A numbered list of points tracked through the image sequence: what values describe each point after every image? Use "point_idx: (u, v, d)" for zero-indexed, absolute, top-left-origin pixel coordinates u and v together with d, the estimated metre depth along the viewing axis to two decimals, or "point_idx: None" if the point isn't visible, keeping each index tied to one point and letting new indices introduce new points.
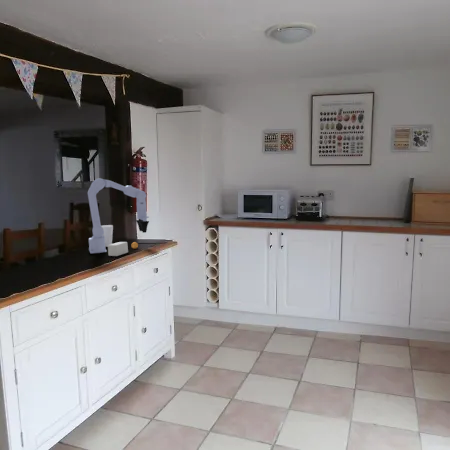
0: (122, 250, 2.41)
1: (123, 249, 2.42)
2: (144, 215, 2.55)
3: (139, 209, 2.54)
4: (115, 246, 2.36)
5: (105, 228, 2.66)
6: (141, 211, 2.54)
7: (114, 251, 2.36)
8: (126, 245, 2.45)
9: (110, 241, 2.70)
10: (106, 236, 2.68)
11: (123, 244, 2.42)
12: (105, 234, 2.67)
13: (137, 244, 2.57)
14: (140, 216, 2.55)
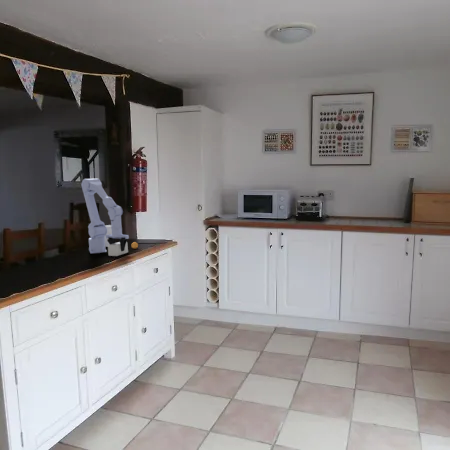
0: None
1: None
2: (121, 233, 2.41)
3: (111, 226, 2.39)
4: (115, 246, 2.36)
5: None
6: (119, 229, 2.39)
7: (114, 251, 2.36)
8: (126, 245, 2.45)
9: None
10: None
11: None
12: None
13: (137, 244, 2.57)
14: (118, 234, 2.39)
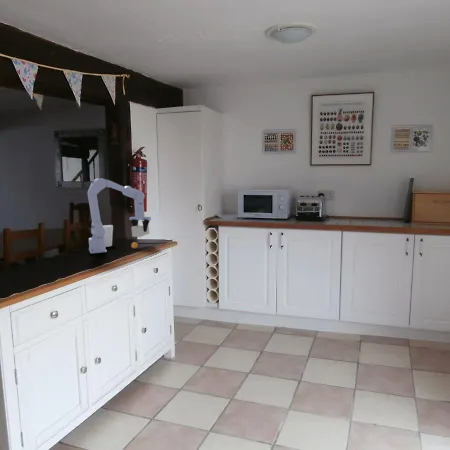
0: None
1: None
2: (144, 215, 2.63)
3: (138, 209, 2.59)
4: (138, 228, 2.57)
5: (105, 228, 2.66)
6: (142, 211, 2.61)
7: (137, 232, 2.58)
8: (147, 227, 2.66)
9: (110, 241, 2.70)
10: (106, 236, 2.68)
11: None
12: (105, 234, 2.67)
13: (137, 244, 2.57)
14: (141, 216, 2.61)
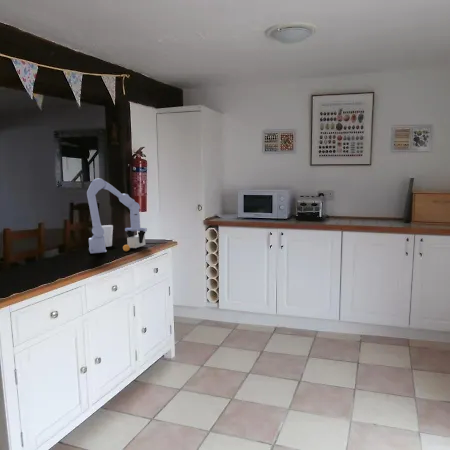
0: None
1: None
2: None
3: (133, 220, 2.55)
4: (134, 239, 2.53)
5: (105, 228, 2.66)
6: (138, 222, 2.56)
7: (133, 243, 2.54)
8: (144, 238, 2.62)
9: (110, 241, 2.70)
10: (106, 236, 2.68)
11: None
12: (105, 234, 2.67)
13: (129, 248, 2.49)
14: (137, 227, 2.56)
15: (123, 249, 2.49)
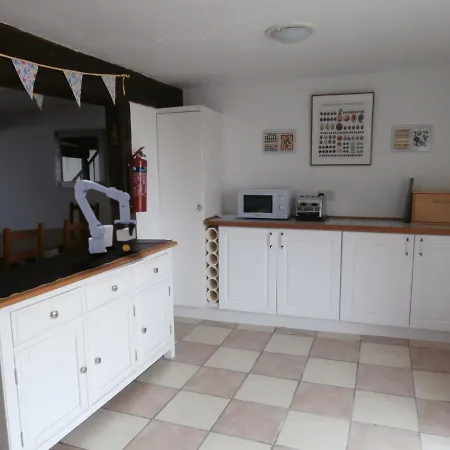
0: None
1: None
2: (129, 218, 2.48)
3: (121, 212, 2.46)
4: (124, 231, 2.43)
5: (105, 228, 2.66)
6: (128, 214, 2.46)
7: (122, 236, 2.44)
8: (134, 231, 2.52)
9: (110, 241, 2.70)
10: (106, 236, 2.68)
11: None
12: (105, 234, 2.67)
13: (129, 248, 2.49)
14: (127, 219, 2.46)
15: (123, 249, 2.49)
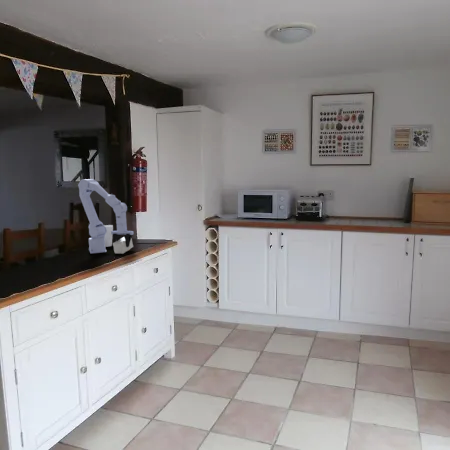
0: None
1: None
2: (126, 229, 2.45)
3: (117, 223, 2.43)
4: (120, 244, 2.40)
5: None
6: (124, 225, 2.43)
7: (119, 248, 2.41)
8: (130, 240, 2.49)
9: (110, 241, 2.70)
10: (106, 236, 2.68)
11: None
12: (105, 234, 2.67)
13: None
14: (123, 230, 2.43)
15: None
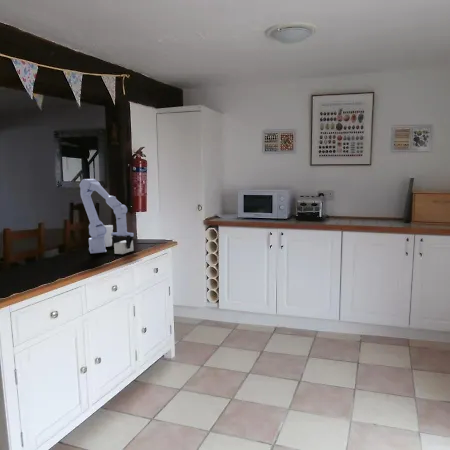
0: None
1: None
2: (126, 230, 2.45)
3: (117, 225, 2.43)
4: (121, 244, 2.41)
5: None
6: (124, 226, 2.43)
7: (120, 249, 2.42)
8: (132, 243, 2.50)
9: (110, 241, 2.70)
10: (106, 236, 2.68)
11: None
12: (105, 234, 2.67)
13: None
14: (123, 232, 2.43)
15: None
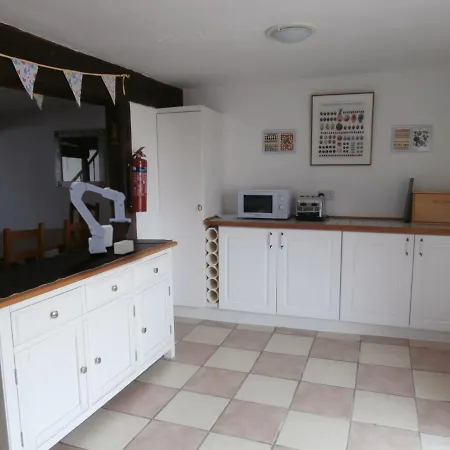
0: (128, 248, 2.46)
1: (129, 247, 2.47)
2: (124, 216, 2.58)
3: (118, 211, 2.54)
4: (121, 244, 2.41)
5: (105, 228, 2.66)
6: (122, 213, 2.56)
7: (120, 249, 2.42)
8: (132, 243, 2.50)
9: (110, 241, 2.70)
10: (106, 236, 2.68)
11: (129, 242, 2.47)
12: (105, 234, 2.67)
13: None
14: (121, 218, 2.56)
15: None
